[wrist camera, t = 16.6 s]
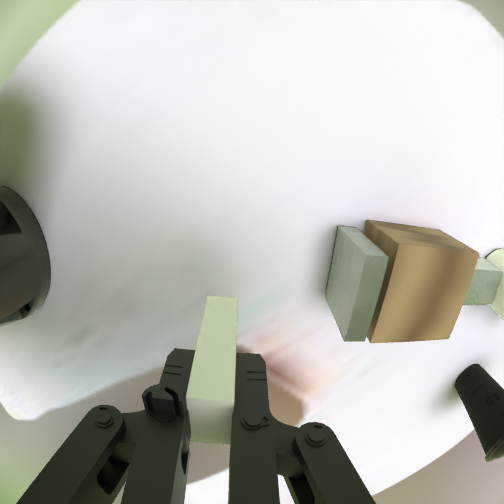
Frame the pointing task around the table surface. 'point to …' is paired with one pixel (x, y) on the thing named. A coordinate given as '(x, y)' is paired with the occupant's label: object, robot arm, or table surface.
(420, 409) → the table surface
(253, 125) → the table surface
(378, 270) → the shaft
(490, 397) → the drinking cup
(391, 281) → the tan wooden block
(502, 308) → the can
